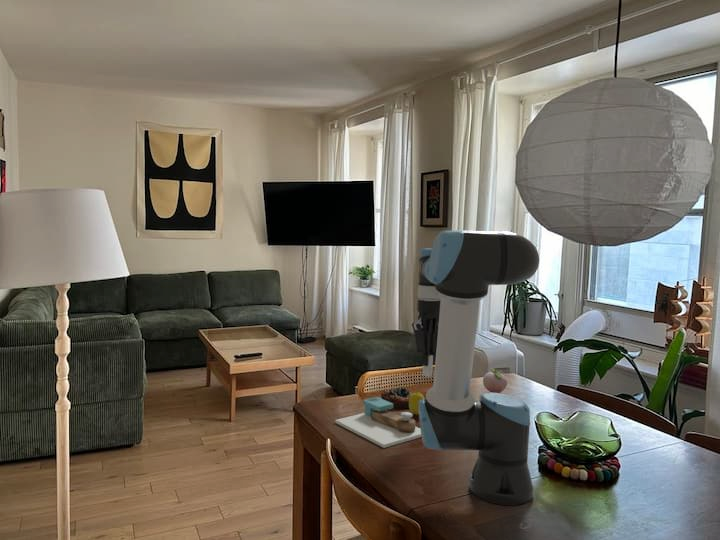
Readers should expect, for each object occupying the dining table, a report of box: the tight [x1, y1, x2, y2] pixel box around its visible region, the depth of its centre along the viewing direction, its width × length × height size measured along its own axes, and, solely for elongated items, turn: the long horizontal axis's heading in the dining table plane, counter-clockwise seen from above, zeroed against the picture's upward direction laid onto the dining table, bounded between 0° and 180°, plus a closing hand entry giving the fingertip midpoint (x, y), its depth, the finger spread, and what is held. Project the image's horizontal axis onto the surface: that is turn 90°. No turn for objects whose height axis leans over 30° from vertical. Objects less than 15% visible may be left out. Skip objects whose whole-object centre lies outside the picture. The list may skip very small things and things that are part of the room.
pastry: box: [380, 387, 414, 410], centre depth 205 cm, size 11×12×6 cm
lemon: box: [409, 391, 426, 416], centre depth 193 cm, size 6×6×8 cm
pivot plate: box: [335, 411, 422, 449], centre depth 180 cm, size 24×18×6 cm
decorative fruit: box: [482, 368, 508, 394], centre depth 218 cm, size 9×8×10 cm
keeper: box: [363, 396, 393, 417], centre depth 188 cm, size 8×6×6 cm
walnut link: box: [371, 410, 416, 432], centre depth 180 cm, size 16×6×2 cm, turn 44°
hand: (427, 375), depth 177 cm, fingers closed
